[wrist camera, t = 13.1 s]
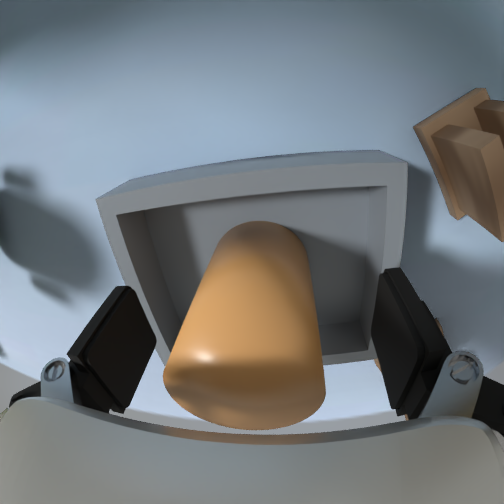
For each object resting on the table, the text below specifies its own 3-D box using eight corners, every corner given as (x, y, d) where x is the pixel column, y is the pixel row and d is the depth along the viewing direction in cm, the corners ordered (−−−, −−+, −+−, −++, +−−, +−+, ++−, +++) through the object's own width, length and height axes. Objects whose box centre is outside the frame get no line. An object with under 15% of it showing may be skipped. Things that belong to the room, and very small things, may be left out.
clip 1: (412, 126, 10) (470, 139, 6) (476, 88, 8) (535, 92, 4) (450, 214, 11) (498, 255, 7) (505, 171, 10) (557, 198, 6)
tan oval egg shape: (204, 225, 12) (138, 341, 6) (305, 216, 11) (331, 338, 5) (223, 304, 14) (190, 425, 8) (309, 299, 13) (321, 427, 7)
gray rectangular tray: (129, 179, 12) (95, 199, 10) (379, 150, 10) (407, 162, 8) (178, 330, 17) (164, 365, 14) (368, 320, 15) (380, 358, 12)
